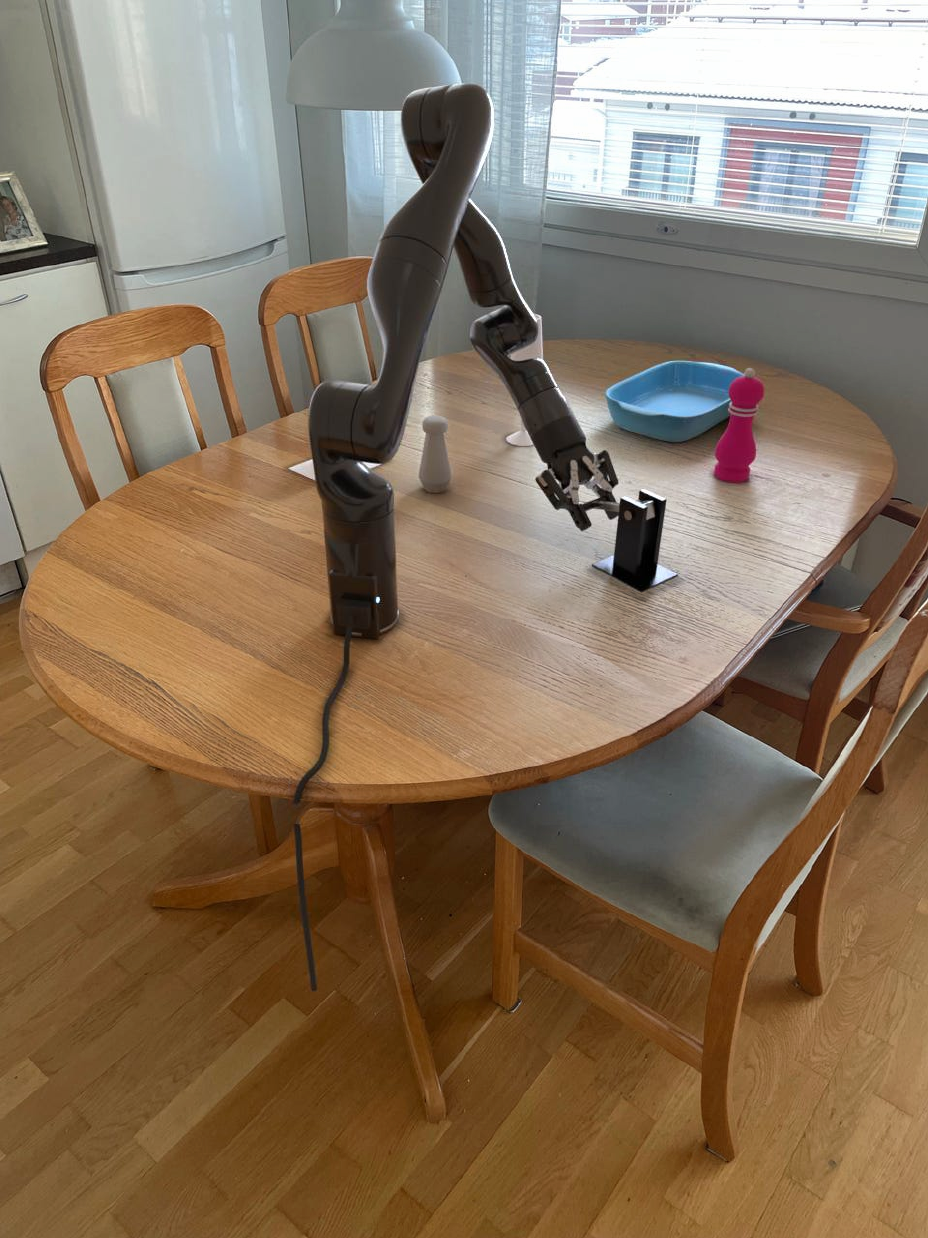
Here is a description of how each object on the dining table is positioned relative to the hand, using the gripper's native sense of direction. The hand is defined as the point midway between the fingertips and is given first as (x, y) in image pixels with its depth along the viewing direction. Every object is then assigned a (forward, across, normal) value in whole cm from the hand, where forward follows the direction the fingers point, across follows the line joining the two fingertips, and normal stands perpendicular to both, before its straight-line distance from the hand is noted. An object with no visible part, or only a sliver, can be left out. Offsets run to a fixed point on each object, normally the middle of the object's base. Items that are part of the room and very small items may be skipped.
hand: (601, 522), depth 140 cm
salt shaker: (-21, -5, +29) cm, 36 cm away
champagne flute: (-26, +23, +35) cm, 49 cm away
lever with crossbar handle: (+1, 0, -4) cm, 4 cm away
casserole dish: (-18, +57, +27) cm, 65 cm away
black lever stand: (+9, 0, -1) cm, 10 cm away
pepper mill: (0, +42, +9) cm, 43 cm away
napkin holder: (-35, -13, +43) cm, 56 cm away
